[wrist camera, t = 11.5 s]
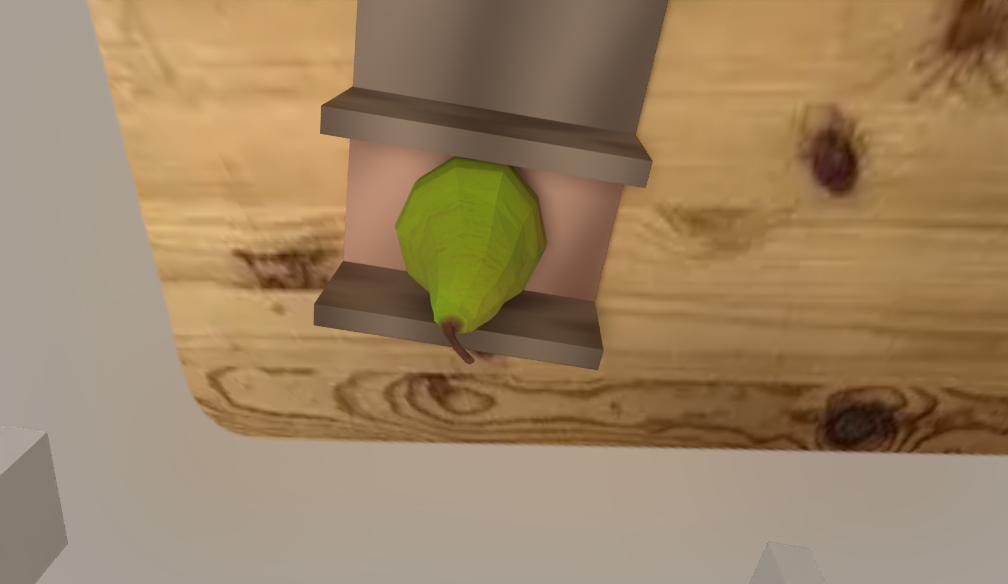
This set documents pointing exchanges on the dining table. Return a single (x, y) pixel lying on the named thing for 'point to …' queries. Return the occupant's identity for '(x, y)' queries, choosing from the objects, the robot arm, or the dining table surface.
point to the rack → (492, 153)
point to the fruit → (470, 241)
